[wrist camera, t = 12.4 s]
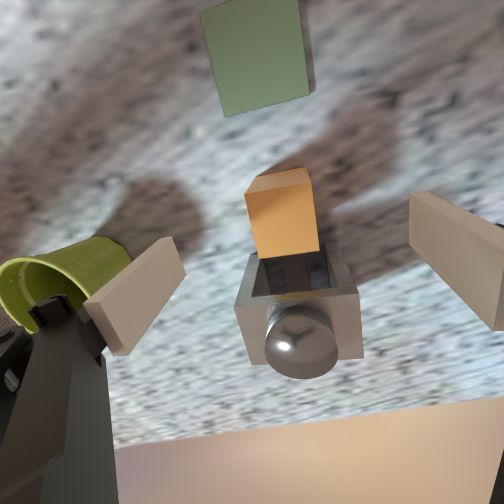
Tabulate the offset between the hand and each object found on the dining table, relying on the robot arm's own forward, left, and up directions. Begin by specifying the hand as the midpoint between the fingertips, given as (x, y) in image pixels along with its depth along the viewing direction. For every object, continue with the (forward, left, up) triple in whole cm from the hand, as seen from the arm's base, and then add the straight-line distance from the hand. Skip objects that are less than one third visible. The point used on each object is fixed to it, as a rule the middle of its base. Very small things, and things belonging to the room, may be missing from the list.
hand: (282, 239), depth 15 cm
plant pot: (-21, -4, -11) cm, 24 cm away
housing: (0, -9, -11) cm, 14 cm away
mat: (0, +11, -11) cm, 15 cm away
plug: (0, -6, -11) cm, 13 cm away
